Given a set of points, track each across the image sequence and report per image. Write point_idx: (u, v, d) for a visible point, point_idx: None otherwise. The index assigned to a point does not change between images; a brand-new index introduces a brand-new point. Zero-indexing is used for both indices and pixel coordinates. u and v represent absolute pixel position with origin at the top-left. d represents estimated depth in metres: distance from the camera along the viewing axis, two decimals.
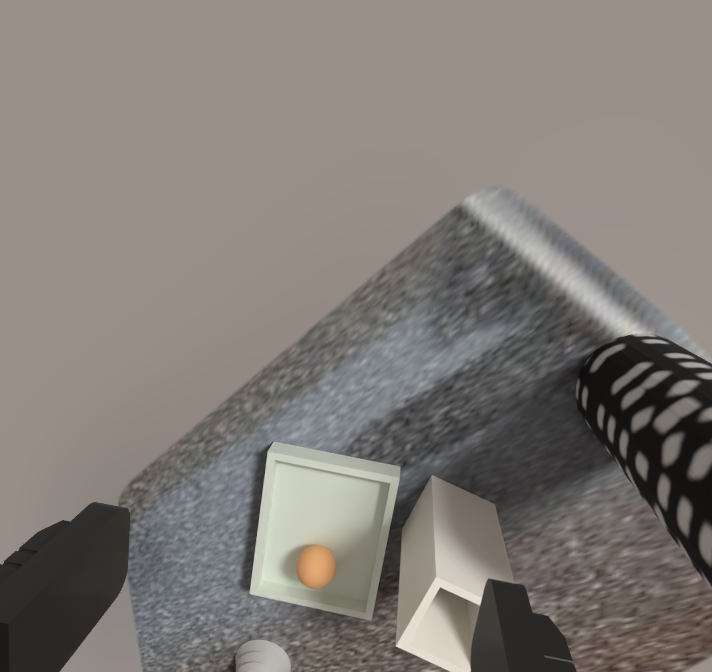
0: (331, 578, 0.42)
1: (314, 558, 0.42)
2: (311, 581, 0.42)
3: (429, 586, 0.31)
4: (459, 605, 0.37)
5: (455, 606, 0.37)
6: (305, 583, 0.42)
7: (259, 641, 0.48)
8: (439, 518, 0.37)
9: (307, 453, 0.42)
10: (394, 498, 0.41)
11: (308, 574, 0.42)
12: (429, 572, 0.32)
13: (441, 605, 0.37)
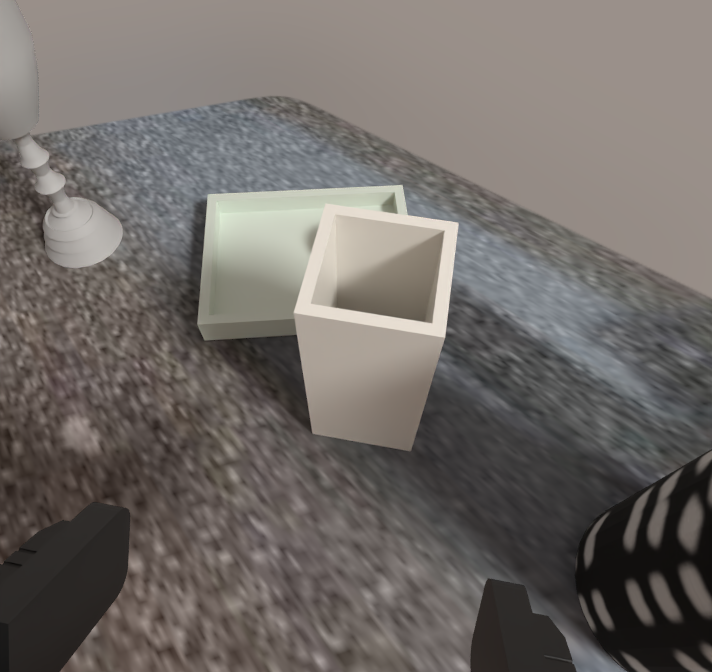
0: None
1: None
2: None
3: None
4: None
5: None
6: None
7: (120, 228, 0.37)
8: None
9: None
10: None
11: None
12: None
13: None
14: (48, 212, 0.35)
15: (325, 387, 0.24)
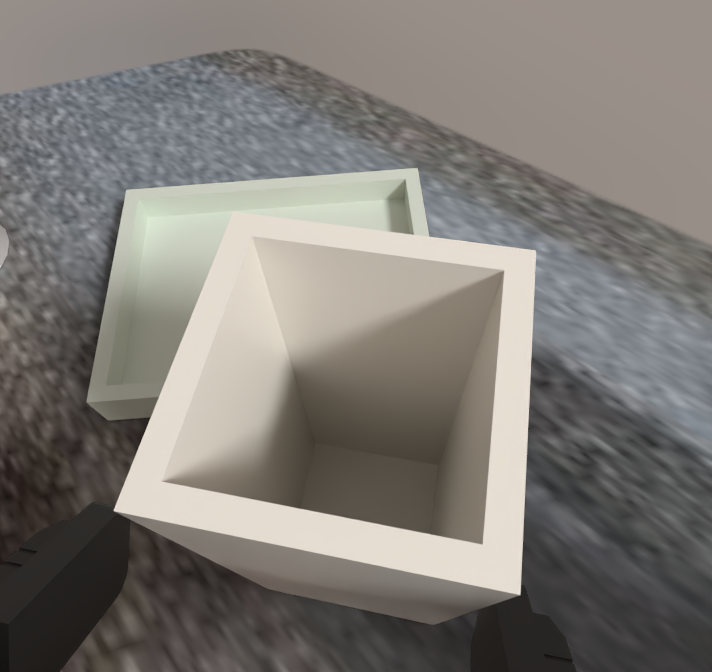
0: None
1: None
2: None
3: None
4: None
5: None
6: None
7: (5, 243, 0.25)
8: None
9: None
10: None
11: None
12: None
13: (261, 448, 0.12)
14: None
15: (260, 573, 0.12)
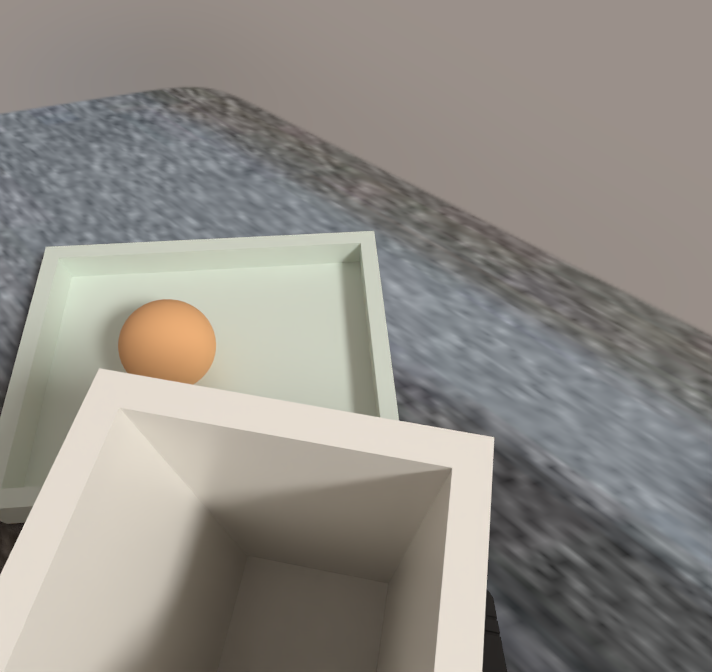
0: (170, 370, 0.18)
1: (215, 341, 0.19)
2: (185, 322, 0.18)
3: None
4: None
5: None
6: (170, 309, 0.18)
7: None
8: None
9: None
10: None
11: (199, 319, 0.18)
12: None
13: (154, 631, 0.10)
14: None
15: None
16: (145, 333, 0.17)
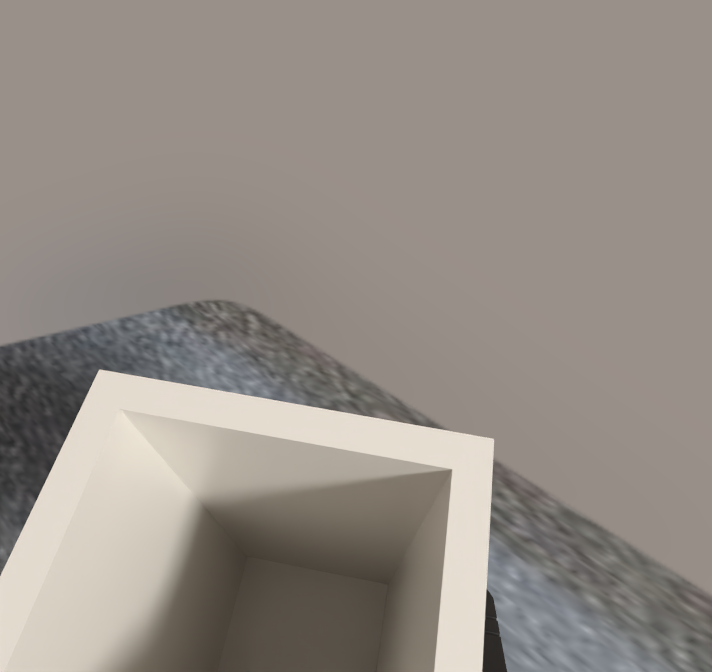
0: None
1: None
2: None
3: None
4: None
5: None
6: None
7: None
8: None
9: None
10: None
11: None
12: None
13: (154, 632, 0.10)
14: None
15: None
16: None
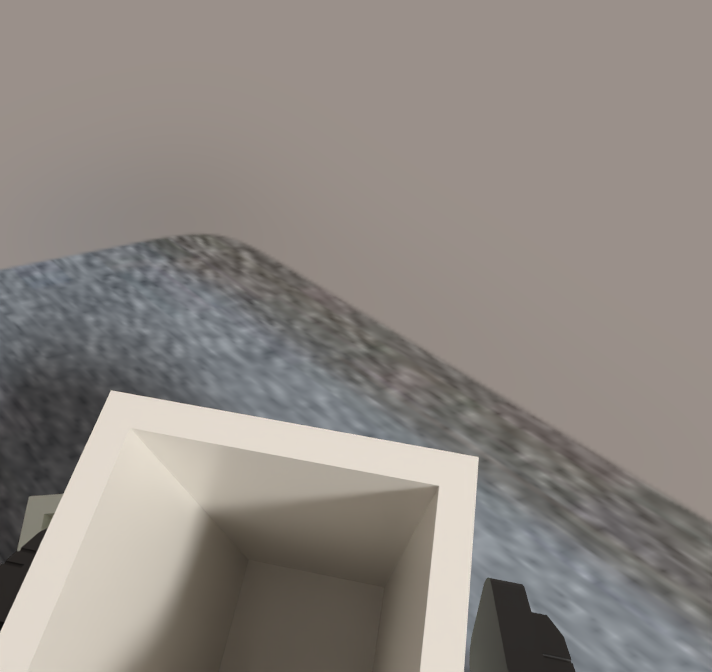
0: None
1: None
2: None
3: (416, 449, 0.08)
4: None
5: None
6: None
7: None
8: None
9: None
10: None
11: None
12: None
13: (160, 635, 0.10)
14: None
15: None
16: None
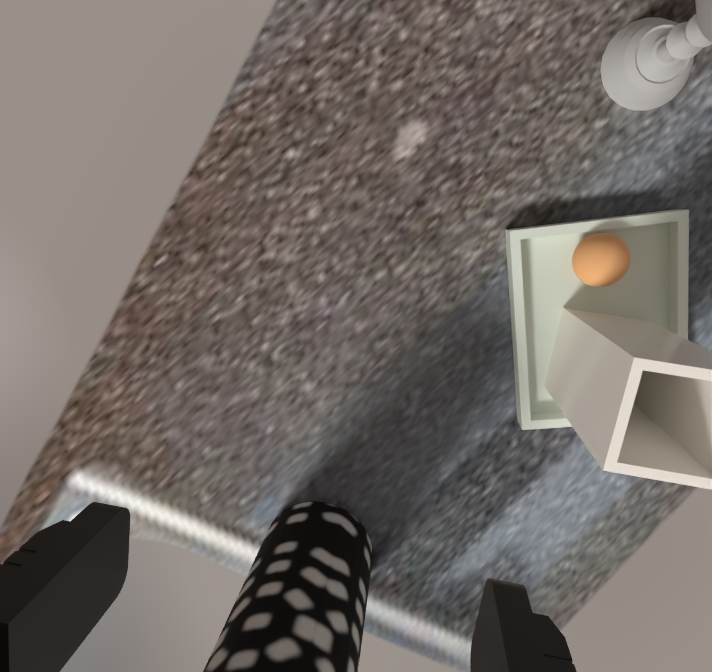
0: (576, 250, 0.33)
1: (612, 257, 0.31)
2: (603, 235, 0.32)
3: None
4: None
5: None
6: (608, 233, 0.32)
7: (656, 105, 0.32)
8: None
9: None
10: (521, 404, 0.36)
11: (612, 239, 0.31)
12: None
13: None
14: (667, 26, 0.29)
15: (588, 345, 0.29)
16: None
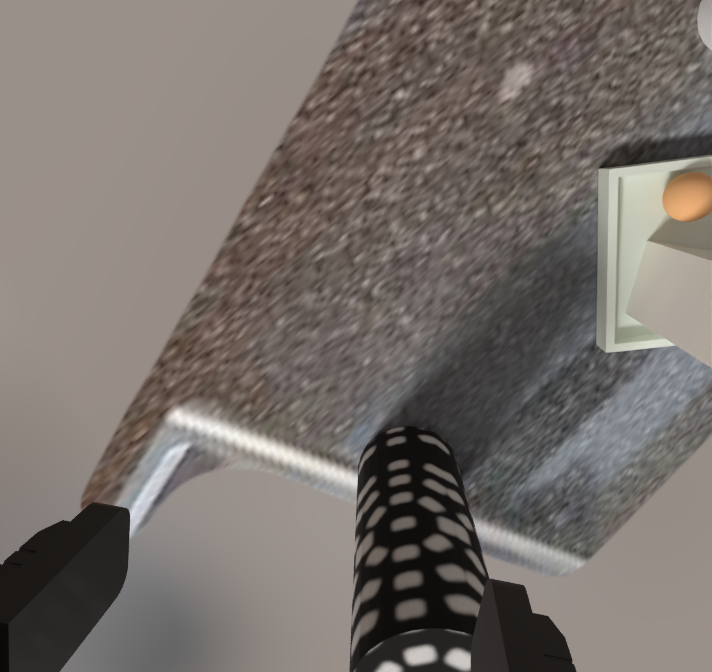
0: (670, 188, 0.36)
1: (706, 195, 0.35)
2: (696, 174, 0.35)
3: None
4: None
5: None
6: (699, 172, 0.36)
7: None
8: None
9: None
10: (607, 329, 0.40)
11: (705, 178, 0.35)
12: None
13: None
14: None
15: (691, 271, 0.33)
16: None
